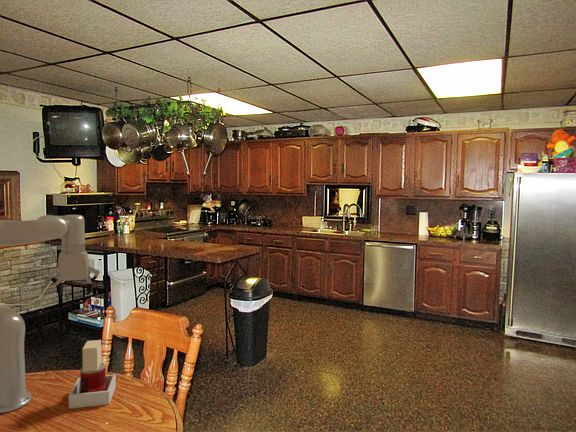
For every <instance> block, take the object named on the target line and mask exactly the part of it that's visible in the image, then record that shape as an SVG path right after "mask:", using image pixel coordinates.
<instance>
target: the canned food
mask: <svg viewBox="0 0 576 432" xmlns="http://www.w3.org/2000/svg"><path fill="white" fill-rule="evenodd" d="M79 372H80V373H79V375H80V377H79V378H81V391H80V393H89V392H99V391H107V388H106V373H107V372H106V364H105V362H103V361H102V362H101V364H100V366H99V368H98V371H87V372H83V365H82V366H81V367H80V370H79Z"/></svg>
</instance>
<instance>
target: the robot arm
mask: <svg viewBox="0 0 576 432" xmlns="http://www.w3.org/2000/svg"><path fill="white" fill-rule="evenodd" d="M85 230H86V229H85V218H84V215H82V214H67V215H65V214H64V215H52V214H51V215H50V214H45V215H41V216H39V217H38V218H37V219H31V220H11V219H0V247H5V246H6V247H8V246H17V245H22V244H24V245H25V244H33V243H40V242H41V243H42V242H46V241H52V240H53V241H54V240H57V239H61V245H57V250H60V251H61V252H60V253H59V254H58V260H57V268H56V269H54V270H51V271H50V272H47V276H48V277H49V279H50V281H51V282H52V283H54V285H55V287H56V294H57V296H58V297H60V296H62V295H63V294H64V287H63V286H64V285H63V283H62V282H64V281H82V280H84V281H85V282H87V284H86V294H87V295H90V294H91V293H92V292H93V283H94V282H95V280H97V279H98V277H99V275H100V273H101V271H100V270H99V269H96V268H94V267H92V266H90V265H91V264H90V259H89V255H88V251H86V239H85V238H86V235H85V233H86V231H85ZM91 273H93V274H94V275H93V277H91ZM55 274H56V275H57V277H56V276H55ZM25 323H26V322H25V320H24V318H23V317H22V315H20V314H19V313H18V312H17V311H15V310H14V309H13V308H11V307H10V306H7V305H5V304H3V303H1V302H0V414H4V413H8V412H13V411H15V410H19V409H20V408H22V407H24V406H25V405H27V404H28V403H30V401H31V400H32V393H31V392H29V391H27V387H26V361H25V360H26V359H25V337H26V336H25V335H26V324H25Z"/></svg>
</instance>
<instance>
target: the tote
mask: <svg viewBox="0 0 576 432" xmlns="http://www.w3.org/2000/svg"><path fill="white" fill-rule="evenodd" d="M116 378H117V376H116V374H108V375H106V391H99V392H89V393H81V378H80V377H78V378H77V380H76V382H75V384H74V386H73V387H72V389H71V390H70V393H69V394H68V409H78V408H80V409H81V408H87V407H88V408H89V407H96V406H97V407H98V406H107V405H110V403H111V401H112V398H113V396H114V393H115V390H116V387H117V384H116V383H117V382H116V381H117V379H116Z"/></svg>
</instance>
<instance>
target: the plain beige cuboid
mask: <svg viewBox="0 0 576 432" xmlns="http://www.w3.org/2000/svg"><path fill="white" fill-rule="evenodd" d="M81 353H82V366H83V372H87V371H98V368H99V366H100V364H101V362H103V361H102V358H103V357H102V339H98V340H87V341H86V342H85V344H84V346H83V347H82V352H81Z"/></svg>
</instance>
